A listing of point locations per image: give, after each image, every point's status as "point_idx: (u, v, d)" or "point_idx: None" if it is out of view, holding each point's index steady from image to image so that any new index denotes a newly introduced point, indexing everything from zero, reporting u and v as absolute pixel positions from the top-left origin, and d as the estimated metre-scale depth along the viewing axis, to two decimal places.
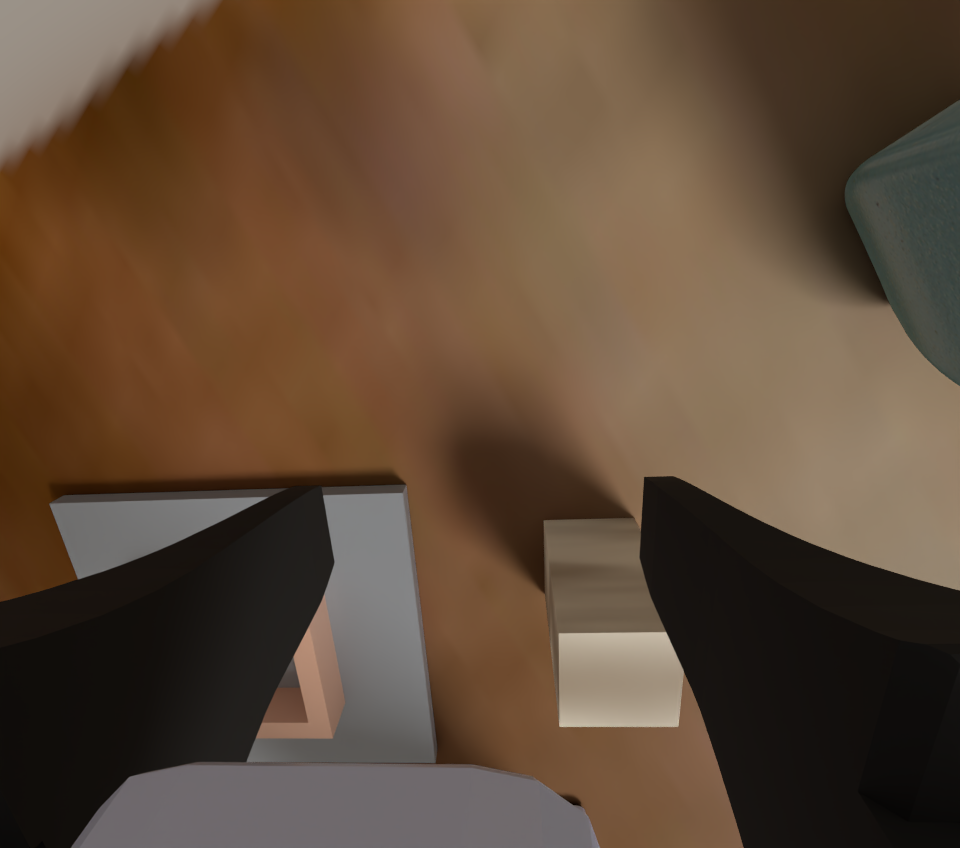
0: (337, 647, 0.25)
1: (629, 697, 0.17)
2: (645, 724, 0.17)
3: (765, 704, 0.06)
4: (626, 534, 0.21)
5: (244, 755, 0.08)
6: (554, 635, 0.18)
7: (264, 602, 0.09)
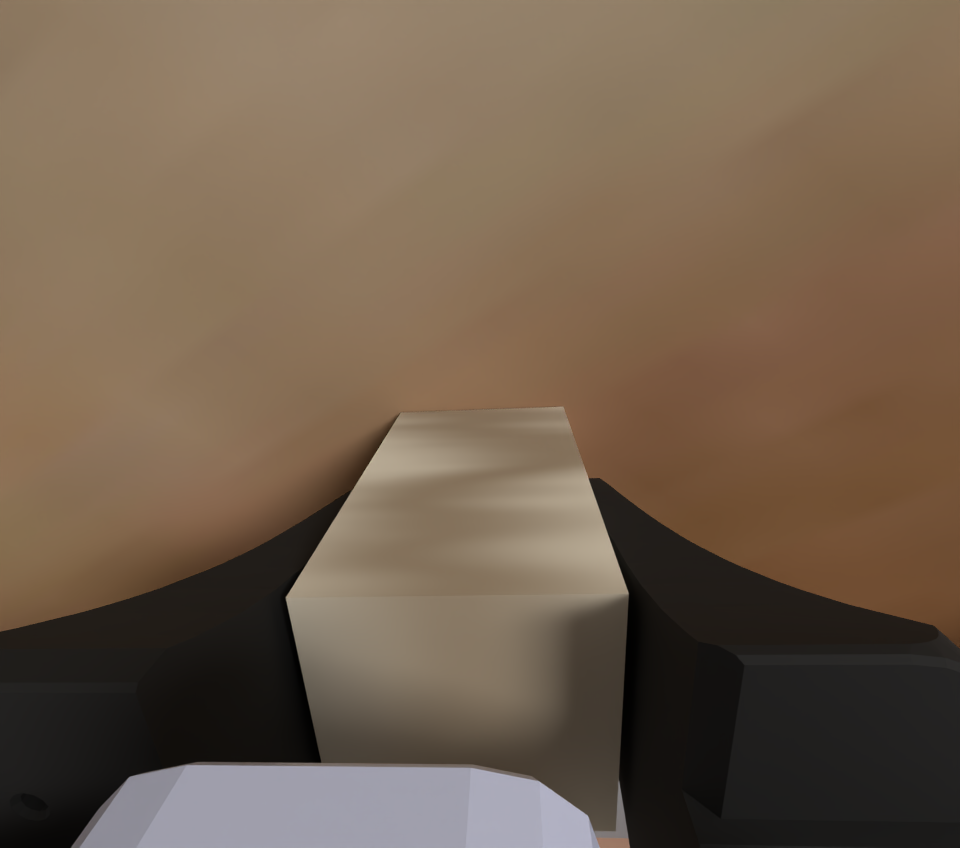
0: None
1: (518, 704, 0.06)
2: (615, 670, 0.06)
3: (637, 704, 0.06)
4: None
5: None
6: None
7: None
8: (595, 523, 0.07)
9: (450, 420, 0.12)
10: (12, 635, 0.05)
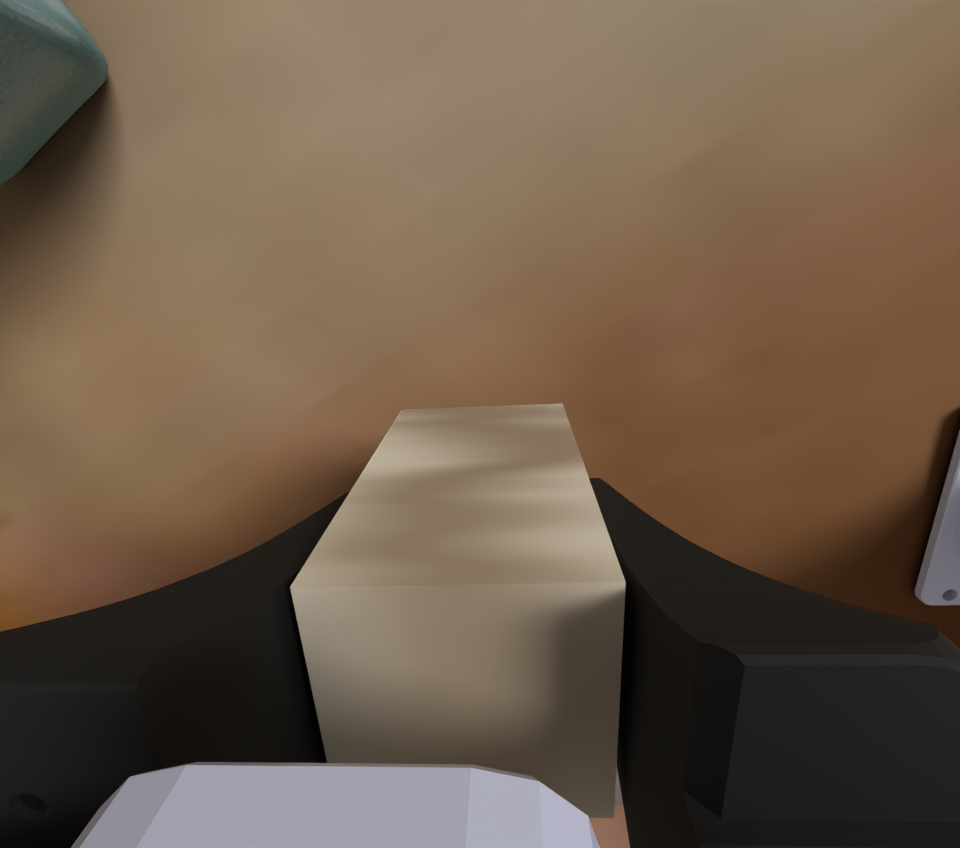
0: None
1: (517, 693, 0.07)
2: (612, 657, 0.06)
3: (637, 704, 0.06)
4: None
5: None
6: None
7: None
8: (593, 515, 0.07)
9: (450, 416, 0.12)
10: (12, 635, 0.05)
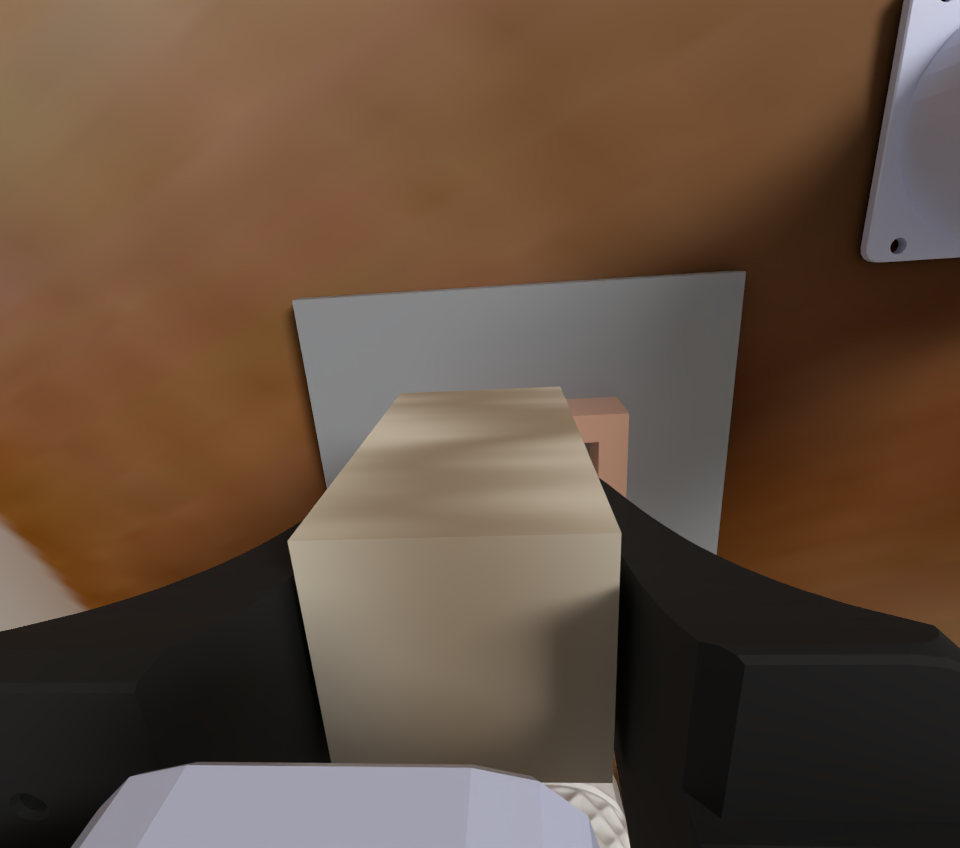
0: None
1: (514, 649, 0.07)
2: (610, 611, 0.06)
3: (638, 704, 0.06)
4: None
5: None
6: None
7: None
8: (590, 478, 0.07)
9: (449, 398, 0.12)
10: (11, 635, 0.05)
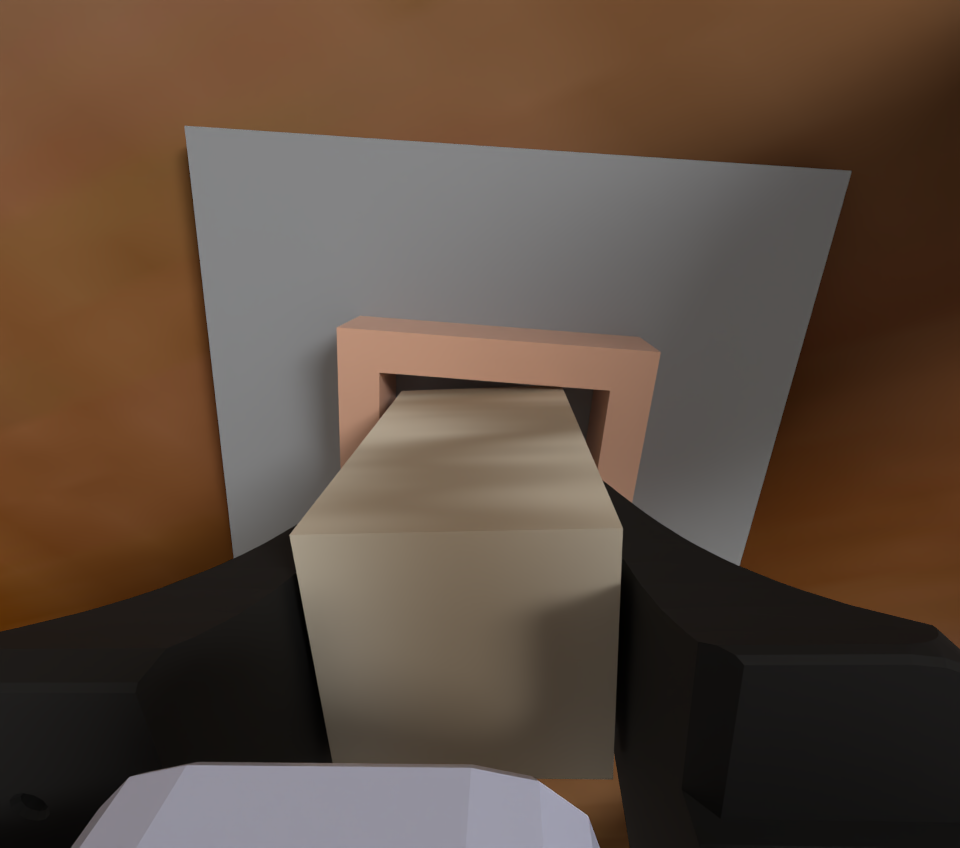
0: (508, 321, 0.14)
1: (515, 644, 0.07)
2: (611, 606, 0.06)
3: (637, 704, 0.06)
4: None
5: None
6: None
7: None
8: (591, 474, 0.07)
9: (450, 396, 0.12)
10: (12, 634, 0.05)
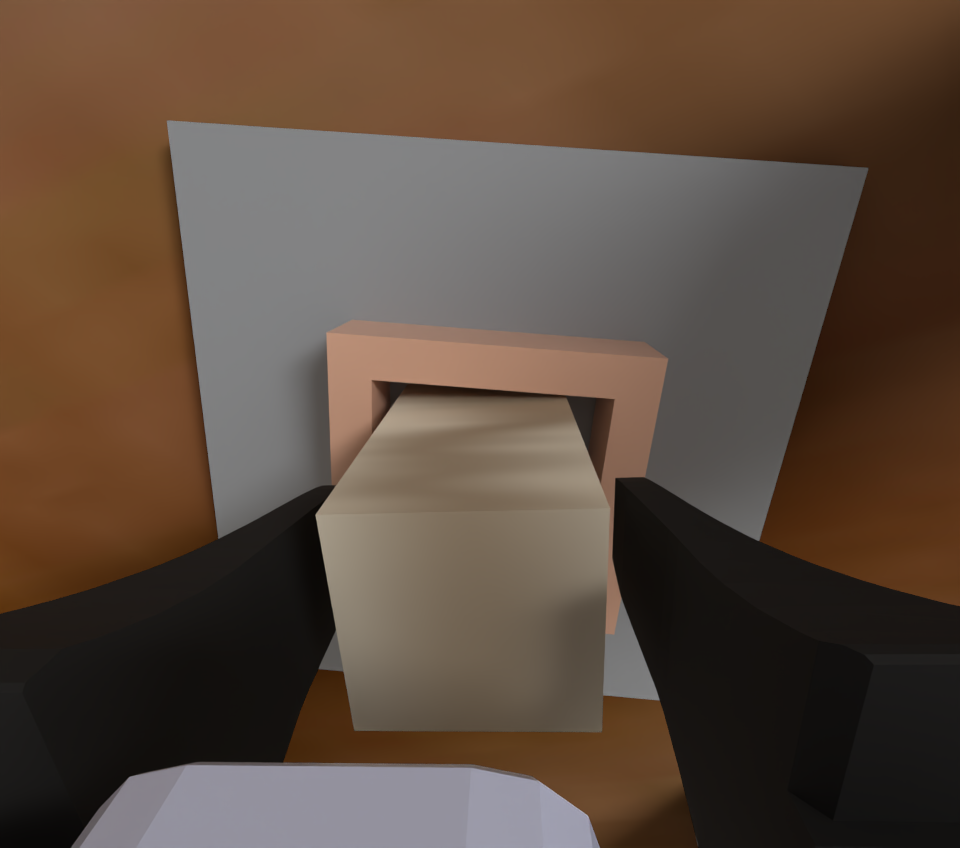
0: (507, 325, 0.13)
1: (515, 612, 0.07)
2: (599, 578, 0.07)
3: (714, 704, 0.06)
4: None
5: (281, 755, 0.08)
6: None
7: (298, 601, 0.09)
8: (584, 461, 0.08)
9: (454, 388, 0.13)
10: None
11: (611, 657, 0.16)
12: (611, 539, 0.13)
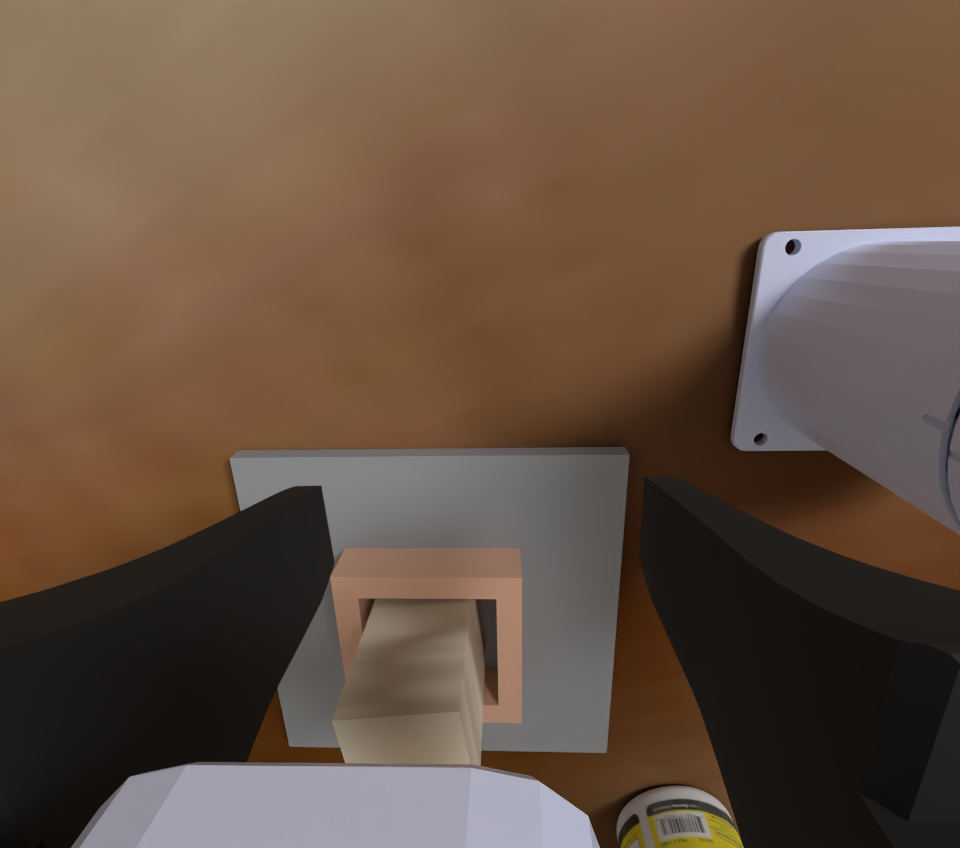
0: (437, 545, 0.22)
1: (427, 754, 0.16)
2: (461, 738, 0.16)
3: (765, 704, 0.06)
4: None
5: (244, 755, 0.08)
6: None
7: (264, 602, 0.09)
8: (459, 671, 0.17)
9: None
10: None
11: (535, 727, 0.25)
12: (509, 670, 0.21)
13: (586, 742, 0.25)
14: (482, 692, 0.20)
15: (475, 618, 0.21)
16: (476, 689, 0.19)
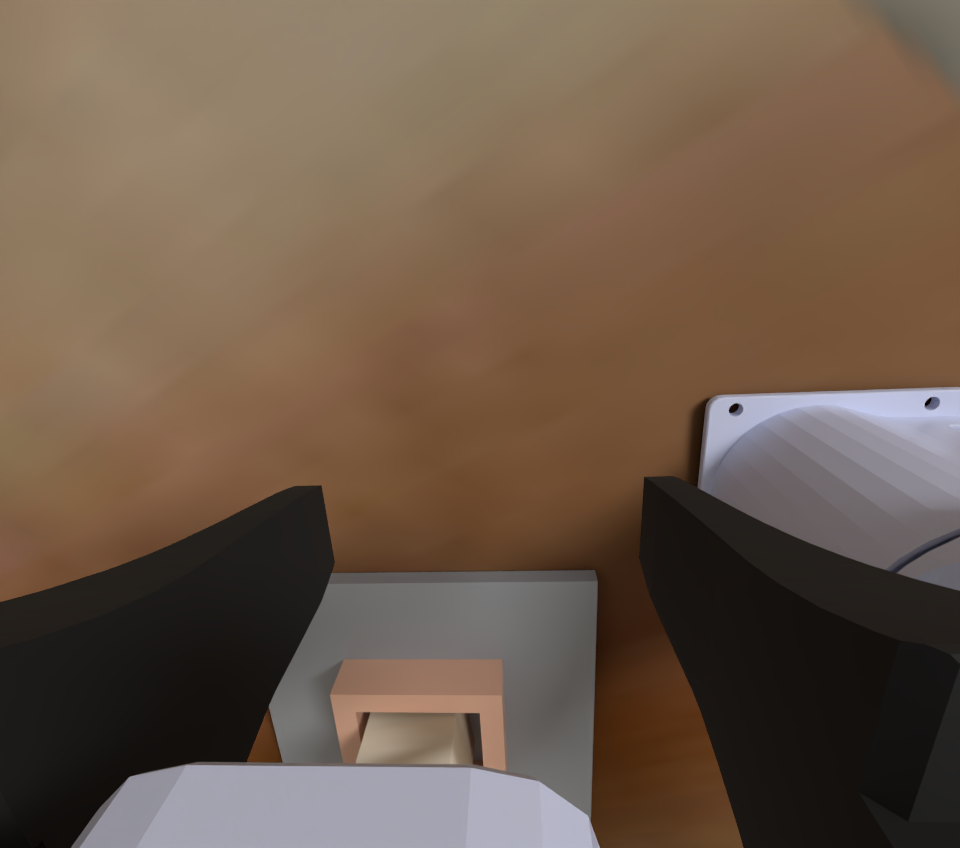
0: (427, 656, 0.24)
1: None
2: None
3: (765, 704, 0.06)
4: None
5: (244, 755, 0.08)
6: None
7: (264, 602, 0.09)
8: None
9: None
10: None
11: None
12: None
13: None
14: None
15: (462, 725, 0.23)
16: None
